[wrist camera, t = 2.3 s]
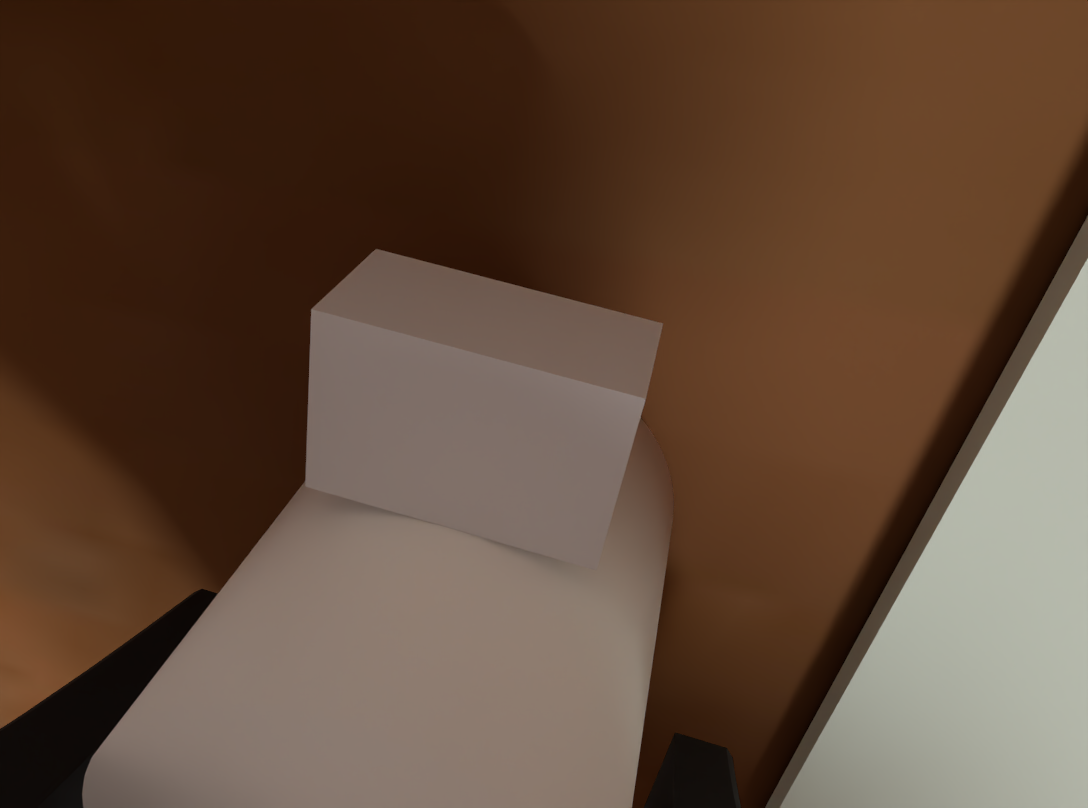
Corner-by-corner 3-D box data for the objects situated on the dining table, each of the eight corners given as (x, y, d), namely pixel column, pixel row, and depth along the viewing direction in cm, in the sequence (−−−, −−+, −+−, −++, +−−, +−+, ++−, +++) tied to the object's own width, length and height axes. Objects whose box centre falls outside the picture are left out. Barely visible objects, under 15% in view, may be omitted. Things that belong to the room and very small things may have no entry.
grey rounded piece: (559, 857, 14) (473, 1269, 10) (328, 783, 14) (150, 1151, 10) (763, 261, 8) (763, 640, 4) (372, 163, 9) (5, 419, 4)
